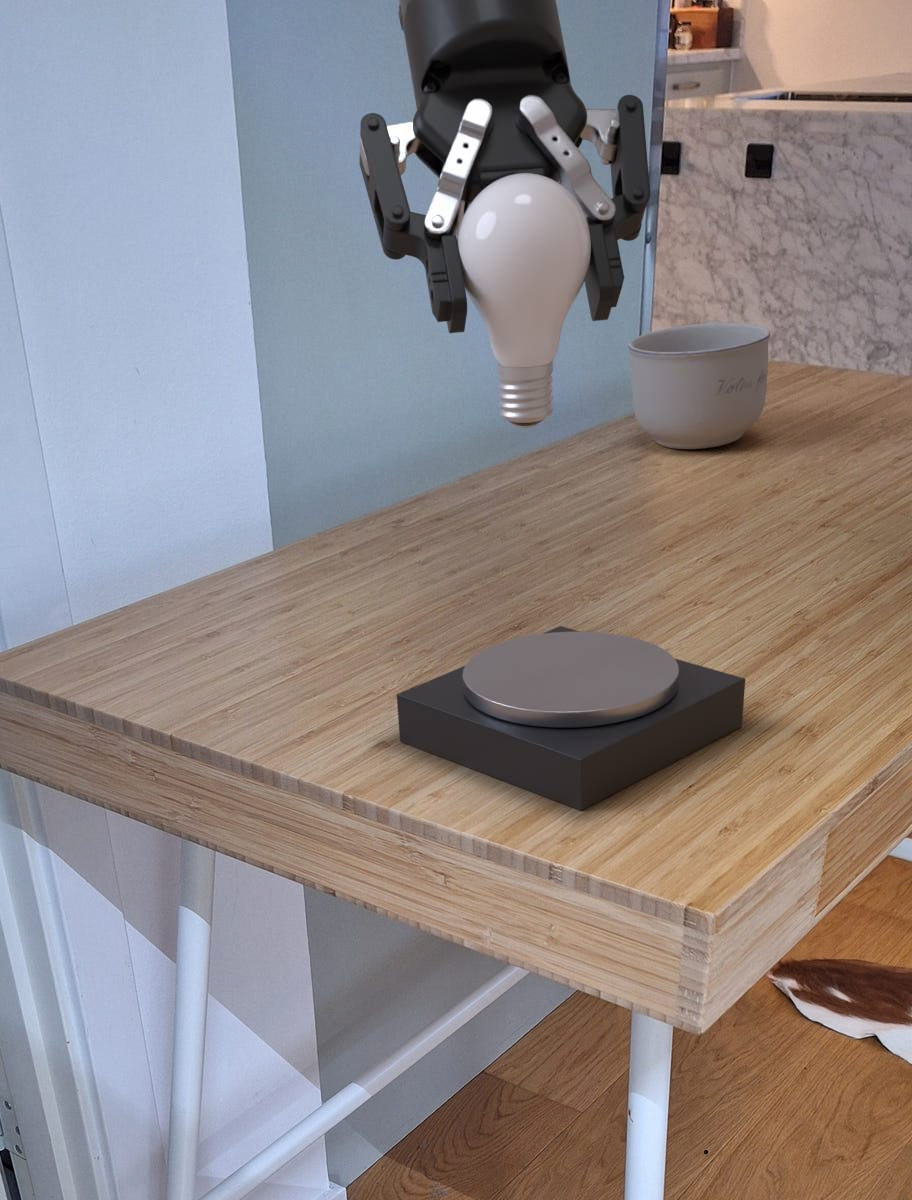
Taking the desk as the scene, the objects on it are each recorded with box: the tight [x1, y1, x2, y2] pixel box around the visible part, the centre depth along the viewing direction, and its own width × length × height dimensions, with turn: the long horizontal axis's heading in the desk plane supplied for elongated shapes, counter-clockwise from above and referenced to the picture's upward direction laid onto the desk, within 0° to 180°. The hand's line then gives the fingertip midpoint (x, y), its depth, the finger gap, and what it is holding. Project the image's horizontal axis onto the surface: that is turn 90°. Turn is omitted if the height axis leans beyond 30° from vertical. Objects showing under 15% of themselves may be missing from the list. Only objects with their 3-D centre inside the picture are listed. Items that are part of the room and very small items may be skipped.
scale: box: [396, 625, 746, 811], centre depth 72 cm, size 12×12×2 cm
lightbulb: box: [456, 173, 591, 429], centre depth 70 cm, size 6×6×11 cm
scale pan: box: [463, 631, 679, 728], centre depth 71 cm, size 10×10×1 cm
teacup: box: [627, 320, 771, 450], centre depth 117 cm, size 14×11×8 cm
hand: (532, 314), depth 69 cm, fingers closed on lightbulb, 6 cm apart
